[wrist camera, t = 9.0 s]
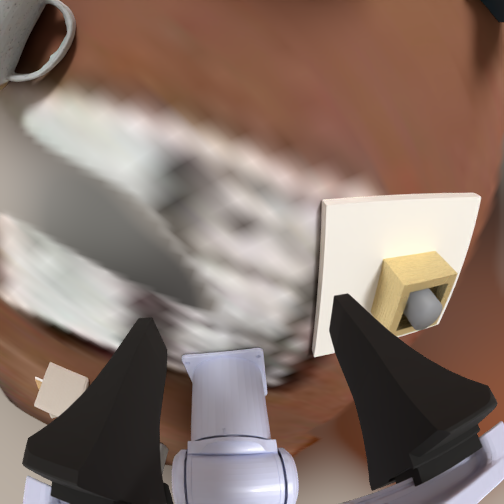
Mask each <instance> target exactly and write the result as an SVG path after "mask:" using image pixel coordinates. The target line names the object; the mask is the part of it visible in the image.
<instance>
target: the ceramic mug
mask: <svg viewBox="0 0 504 504" xmlns="http://www.w3.org/2000/svg"><path fill="white" fill-rule="evenodd" d="M46 4H52V5H54V6H56V7H57V8H58V9H59V10H60V11H61V12H62V13H63V16H64V19H65V23H66V26H67V35H66V36H65V38H64V40H63V42H62V43H61V45H60V47H59V49H58V50H57V51H56V52H55V53H54V54H52V55H51V56H50V59H49V61H48V62H47V63H46V64H45V65H44V66H43V67H42V68H41V69H40V70H38V71H36V72H34V73H30V74H18V73H15V72H14V70H15V68H16V66H17V63H18V61H19V58H20V56H21V53H22V51H23V48H24V46H25V44H26V41H27V39H28V37H29V35H30V33H31V31H32V29H33V27H34V25H35V24H36V22H37V20H38V18H39V16H40V14H41V13H42V11H43V9H44V7H45V5H46ZM75 31H76V21H75V17H74V15H73V13H72V11H71V10H70V9H69V7H68V6H66V5H65V4H64V3H62V2H61V1H59V0H0V91H1V90H2V89H3V88H4V87H5V86H6V85H7V84H8V82H9V81H15V82H20V81H27V80H32V79H35V78H38V77H40V76H42V75H44V74H46V73H48V72H49V71H50V70H52V69H53V68H54V67H55V66H56V65H57V64H58V63H59V62H60V61H61V60H62V59H63V58H64V56H65V55H66V53H67V51H68V50H69V48H70V46H71V44H72V41H73V39H74V36H75Z"/></svg>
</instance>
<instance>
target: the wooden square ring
mask: <svg viewBox="0 0 504 504" xmlns="http://www.w3.org/2000/svg"><path fill="white" fill-rule="evenodd" d="M457 274H458V273H457V272H456V271H455V270H454V269H453V268H452V267H451V266H450V265H449V264H448V263H447V262H446V261H445V260H444V259H443V258H442V257H441V256H440V255H439V254H438V253H437V252H436V251H431V252H425V253H418V254H412V255H406V256H399V257H392V258H386V259H383V262H382V267H381V272H380V276H379V280H378V285H377V289H376V293H375V297H374V301H373V304H372V308H371V314H372V315H373V317H374V318H375V319H376V320H378V321H379V322H380V323H381V324H382V325H383V326H384V327H386V328H387V329H388V330H389V331H390V332H391V333H393V334H394V335H395V336H400V335H403V334H407V333H410V332H414V331H417V330H415V329H414V328H413V327H412V325H411V323H410V322H409V320H408V319H407V317H406V316H405V314H404V313H403V312H404V309H405V306H406V303H407V300H408V297H409V294H410V292H414V291H419V290H423V289H427V288H429V289H430V290H431V291H432V293H433V294H434V295H435V296H436V298H437V299H438V300H439V301H440V303H441V304H442V311H443V309H444V306H445V304H446V302H447V299H448V297H449V295H450V292H451V290H452V287H453V285H454V282H455V280H456V277H457ZM441 313H442V312H441ZM440 315H441V314H440ZM439 317H440V316H439ZM439 317H438V319H437V320H436V321H435V322H434V323H433V324H432V325H430V326H433V325H436V324H437V322H438V320H439ZM430 326H429V327H430Z"/></svg>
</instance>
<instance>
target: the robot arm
mask: <svg viewBox="0 0 504 504" xmlns="http://www.w3.org/2000/svg"><path fill="white" fill-rule="evenodd" d="M329 333H330V336H331V340H332V344H333V347H334V351H335V354H336V356H337V359H338V361H339V363H340V366H341V368H342V371H343V373H344V376H345V378H346V381H347V383H348V386H349V388H350V391H351V393H352V396H353V399H354V401H355V405H356V409H357V412H358V417H359V420H360V425H361V429H362V434H363V439H364V444H365V450H366V456H367V463H368V471H369V482H370V486H371V489H372V490H375V489H378V488H381V487H383V486H386V485H389V484H391V483H394V482H396V484H395V485H393V486H391V487H388V488H385V489H383V490H380V491H378V492H375V493H372V494H369V495H366V496H363V497H360V498H357V499H354V500H350V501H348V502H344V503H340V504H477V503H478V502H479V501H480V500H482V499H483V498H484V497H485V496H486V495H487V494H488V493H489V492H490V491H491V490H492V489H493V488H495V486H497V485H498V484H499V483H500V482H501V481H502V480H503V479H504V424H503V422H502V421H501V422H499V423H498V424H497V425H495V426H494V427H493V428H491V429H490V430H489V431H487V432H486V433H485V434H483V435H482V436H481V437H478V435H477V433H478V432H479V431H480V428H479V426H478V423H479V422H480V421H482V420H483V419H484V418H485V417H486V416H487V415H488V414H489V413H490V412H492V410H494V408H495V407H496V406H497V401H496V399H495V397H494V395H493V394H492V392H491V390H490V388H489V387H488V386H487V385H484V384H481V383H478V382H475V381H472V380H470V379H467V378H465V377H462V376H460V375H458V374H455V373H453V372H451V371H449V370H447V369H445V368H443V367H441V366H440V365H438V364H436V363H434V362H432V361H431V360H429V359H427V358H426V357H424V356H423V355H421V354H420V353H418V352H417V351H415V350H414V349H412V348H411V347H409V346H408V345H407V344H405V343H404V342H403V341H401V340H400V339H399V338H398V337H396V336H395V335H394V334H393V333H391V332H390V331H389V330H388V329H387V328H386V327H384V326H383V325H382V324H381V323H380V322H379V321H378V320H376V319H375V318H374V317H373V316H372V315H371V314H370V313H369V312H368V311H367V310H366V309H365V308H363V307H362V306H361V305H360V304H359V303H358V302H357V301H356V300H355V299H354V298H353V297H352V296H351V295H349V294H348V293H347V294H341V295H335V296H334V299H333V306H332V313H331V320H330V327H329ZM182 362H183V364H184V366H185V368H186V370H187V373H188V375H189V377H190V379H191V381H192V383H193V387H192V415H191V441H188V450H180V451H179V453H177V454H176V455H175V456H174V459H173V465H172V491H173V498H174V501H175V504H296V500H297V497H298V487H299V486H298V475H297V469H296V465H295V462H294V459H293V457H292V456H291V454H290V453H288V452H287V451H286V450H285V449H284V448H277V444H276V440H275V439H274V440H271V436H270V429H269V422H268V415H267V408H266V401H265V396H266V395H267V386H266V375H265V365H264V355H263V349H261V348H251V349H243V350H234V351H224V352H213V353H201V354H186V355H183V356H182ZM166 370H167V349H166V347H165V344H164V342H163V340H162V338H161V336H160V334H159V332H158V329H157V327H156V325H155V323H154V320H153V318H139V319H138V320H137V321H136V323H135V324H134V326H133V327H132V328H131V330H130V331H129V333H128V334H127V336H126V337H125V339H124V340H123V342H122V343H121V345H120V346H119V347H118V349H117V350H116V352H115V353H114V355H113V356H112V357H111V359H110V360H109V362H108V363H107V364H106V366H105V367H104V368H103V370H102V371H101V372H100V374H99V375H98V376H97V378H96V379H95V380H94V381H93V382H92V384H91V385H90V386H89V387H88V388H87V389H86V390H85V391H84V393H83V394H82V395H81V396H80V397H79V398H78V399H77V400H76V401H75V402H74V403H73V404H72V405H71V406H70V407H69V408H68V409H66V410H65V411H64V412H63V413H62V414H61V415H60V416H58V417H57V418H56V419H55V420H54V421H52V422H51V423H50V424H48V425H47V426H46V427H44V428H43V429H41V430H40V431H38V432H37V433H35V434H34V435H32V436H31V437H29V438H28V441H27V445H26V449H25V453H24V458H23V463H22V464H23V465H24V466H25V467H26V468H28V469H29V470H31V471H33V472H35V473H37V474H39V475H41V476H42V477H44V478H46V479H48V480H51V481H52V486H50V485H48V484H45V483H43V482H41V481H39V480H37V479H34V478H32V477H30V476H27V478H26V484H25V491H24V499H23V504H167V502H166V497H165V492H164V486H163V480H162V470H161V459H160V415H161V407H162V400H163V393H164V386H165V379H166Z"/></svg>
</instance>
